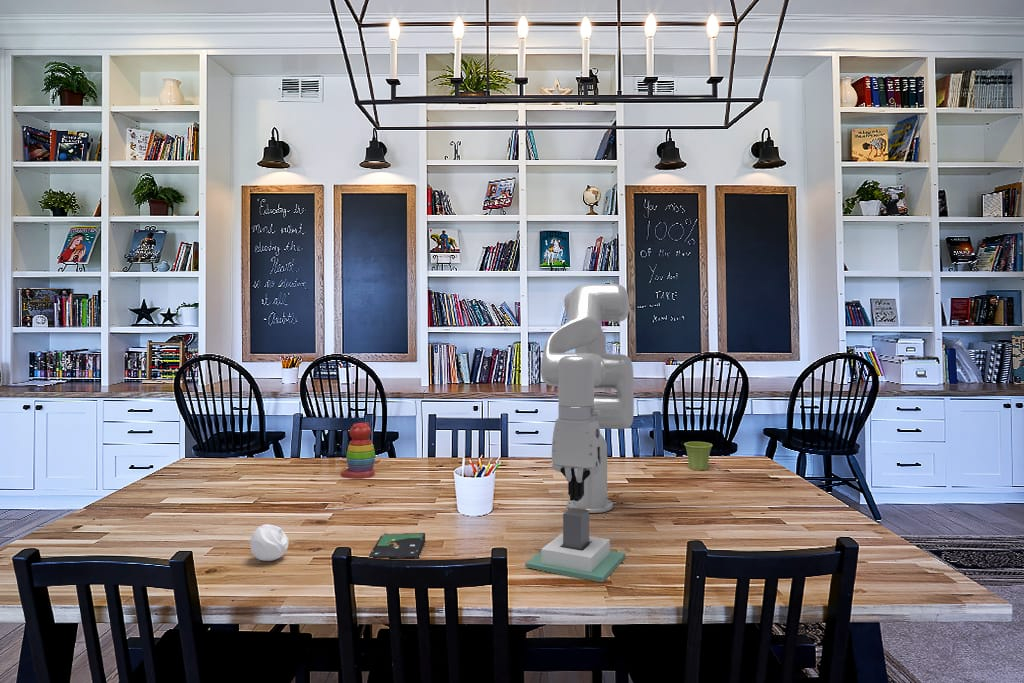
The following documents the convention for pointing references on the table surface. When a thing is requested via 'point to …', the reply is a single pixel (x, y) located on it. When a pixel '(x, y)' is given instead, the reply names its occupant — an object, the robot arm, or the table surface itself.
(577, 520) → the plug
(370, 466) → the stacking bear
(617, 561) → the board
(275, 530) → the crumpled white paper ball
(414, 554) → the disk drive
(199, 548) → the table surface
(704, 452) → the plant pot
